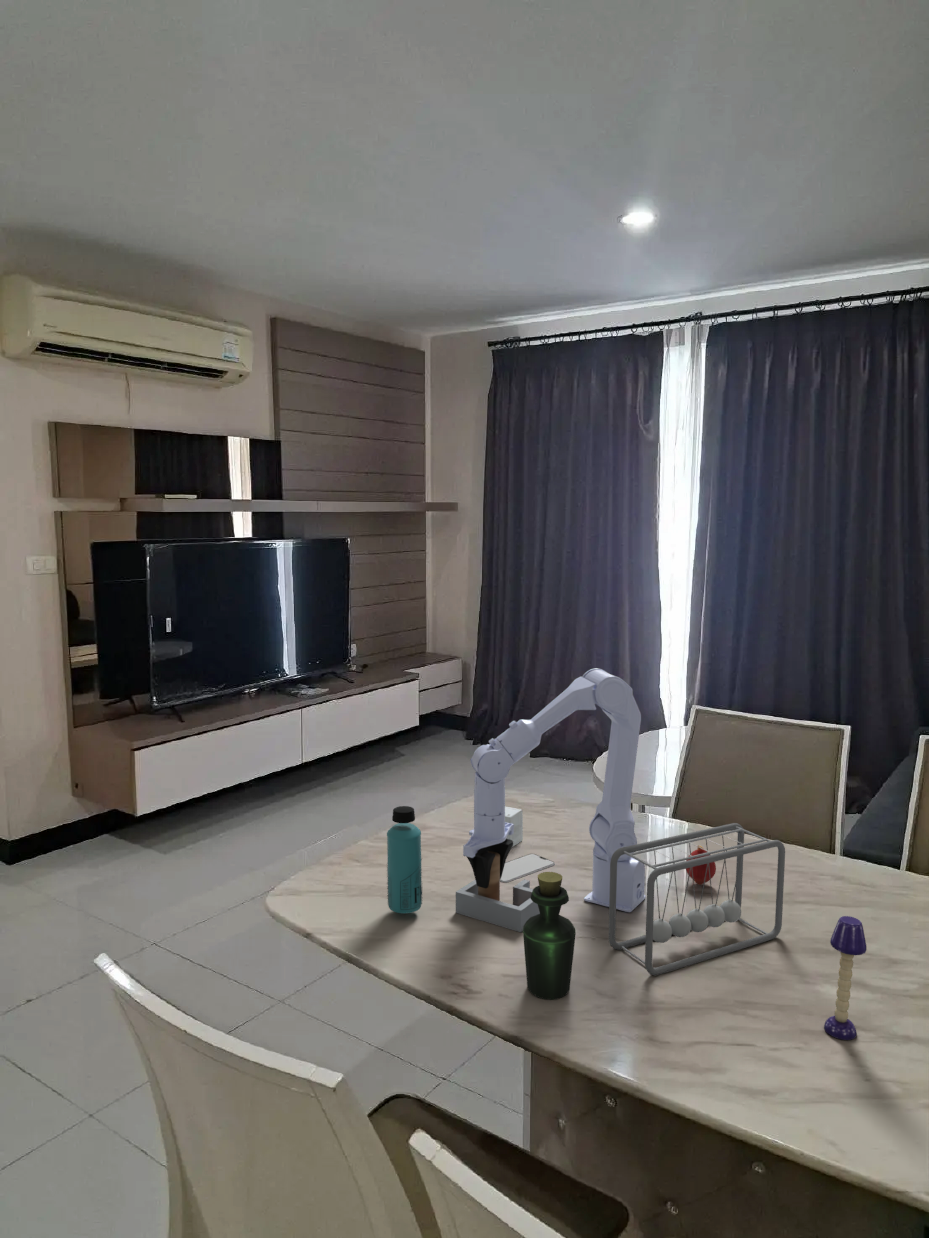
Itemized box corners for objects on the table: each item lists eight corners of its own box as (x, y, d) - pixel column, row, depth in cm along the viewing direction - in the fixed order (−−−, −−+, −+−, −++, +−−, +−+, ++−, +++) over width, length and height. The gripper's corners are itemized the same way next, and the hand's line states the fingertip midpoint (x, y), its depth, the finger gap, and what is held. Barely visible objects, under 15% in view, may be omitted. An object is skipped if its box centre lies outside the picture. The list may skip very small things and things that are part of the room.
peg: (503, 900, 160) (504, 854, 159) (492, 908, 156) (492, 861, 155) (485, 895, 162) (485, 849, 161) (473, 903, 158) (474, 856, 157)
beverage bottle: (417, 923, 154) (417, 815, 151) (382, 919, 155) (381, 812, 153) (426, 907, 160) (426, 803, 158) (392, 904, 161) (391, 801, 159)
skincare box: (523, 840, 194) (523, 809, 193) (510, 849, 189) (510, 816, 188) (499, 835, 197) (500, 804, 196) (486, 843, 192) (486, 811, 191)
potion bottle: (541, 969, 138) (542, 861, 136) (584, 986, 133) (587, 875, 131) (511, 990, 132) (512, 878, 130) (555, 1009, 126) (557, 892, 124)
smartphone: (480, 870, 176) (532, 852, 186) (480, 874, 177) (532, 855, 186) (504, 882, 171) (557, 862, 180) (504, 885, 171) (557, 865, 181)
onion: (712, 879, 173) (713, 840, 172) (717, 891, 167) (719, 851, 167) (682, 877, 174) (684, 839, 173) (687, 889, 168) (688, 850, 167)
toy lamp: (851, 1022, 123) (857, 911, 122) (867, 1041, 119) (874, 927, 117) (818, 1023, 123) (824, 912, 121) (833, 1042, 119) (839, 927, 117)
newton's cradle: (647, 979, 135) (650, 871, 133) (606, 950, 144) (609, 849, 142) (782, 937, 149) (787, 838, 147) (737, 913, 158) (741, 820, 156)
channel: (552, 907, 160) (552, 886, 160) (520, 932, 150) (521, 910, 150) (489, 889, 168) (489, 870, 167) (455, 912, 158) (455, 891, 157)
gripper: (491, 796, 165) (491, 864, 167) (449, 818, 153) (449, 890, 155) (523, 803, 161) (522, 872, 163) (482, 825, 149) (482, 900, 151)
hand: (489, 882), depth 159 cm, fingers closed on peg, 4 cm apart
